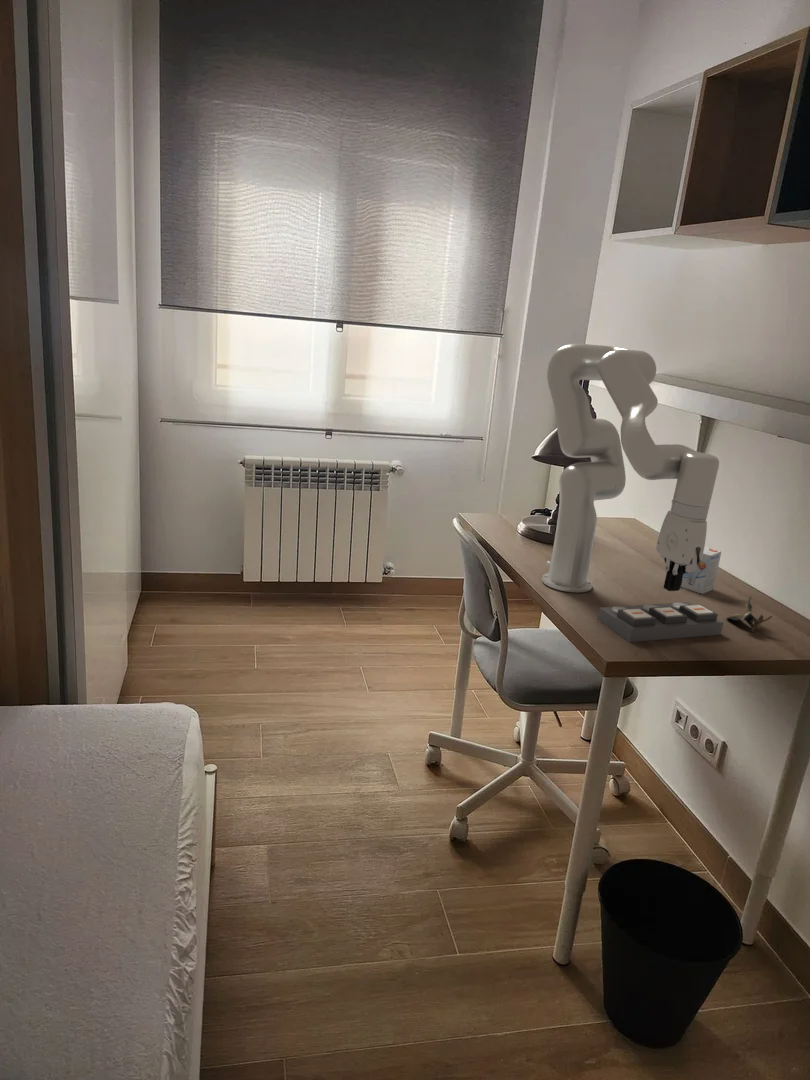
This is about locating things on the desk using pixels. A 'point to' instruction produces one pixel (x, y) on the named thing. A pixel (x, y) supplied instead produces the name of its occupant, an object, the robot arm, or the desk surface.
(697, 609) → the right button
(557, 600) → the desk surface
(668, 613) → the middle button
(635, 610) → the left button
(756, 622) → the eagle figurine
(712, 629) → the button panel
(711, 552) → the light bulb box
